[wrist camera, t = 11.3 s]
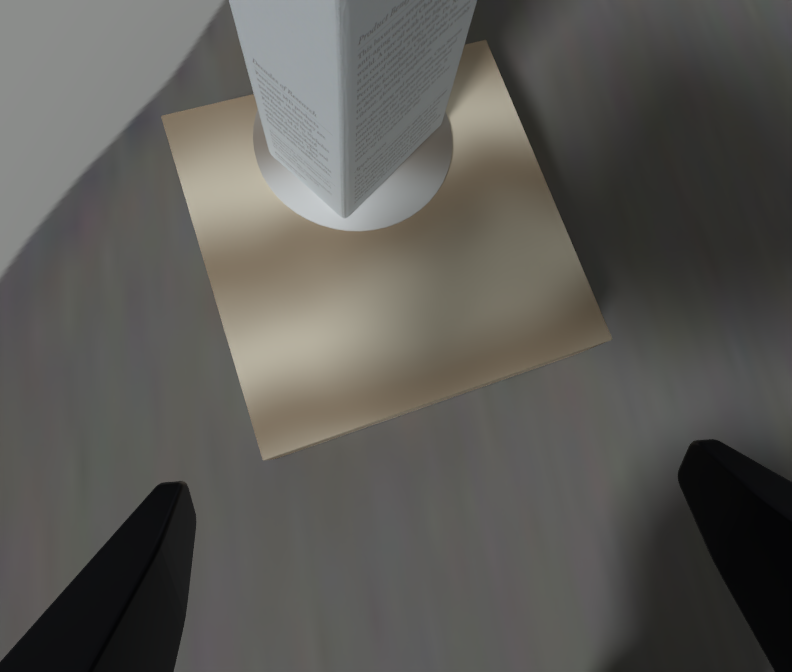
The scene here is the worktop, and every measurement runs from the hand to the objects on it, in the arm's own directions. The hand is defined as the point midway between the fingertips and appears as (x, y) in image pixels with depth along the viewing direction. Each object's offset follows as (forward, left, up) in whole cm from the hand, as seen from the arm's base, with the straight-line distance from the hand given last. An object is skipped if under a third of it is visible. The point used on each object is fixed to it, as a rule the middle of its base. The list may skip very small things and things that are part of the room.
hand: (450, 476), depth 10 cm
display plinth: (+9, -3, -14) cm, 16 cm away
